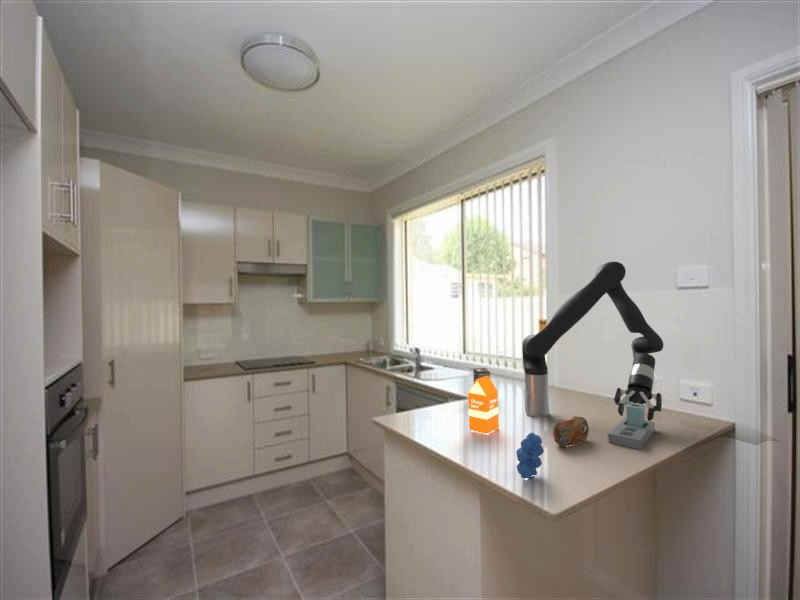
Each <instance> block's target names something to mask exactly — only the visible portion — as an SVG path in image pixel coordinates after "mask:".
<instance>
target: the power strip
mask: <svg viewBox="0 0 800 600" xmlns="http://www.w3.org/2000/svg"><path fill="white" fill-rule="evenodd" d="M655 424H656V423H655V421H652V420H651V421H648V420H646V419H645V428H641V427H635V426H630V425H627V416H625V417H624V418H623V419H622V420H621V421H620V422H619V423H617V425H616V426H614V428H613V429H611V430H610V431H609V432H608V433H607V437H608V439H607V441H608V443H610V444H613V445H617V444H618V446H623V447H627V448H632V449H635V450H641V449H642V448H643V446H644V445H645V444H646V443H647V441H648V440H649V439H650V438H651V436H652V435H653V433H654V432H655V431H656V425H655Z"/></svg>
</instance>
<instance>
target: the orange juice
mask: <svg viewBox="0 0 800 600" xmlns="http://www.w3.org/2000/svg"><path fill="white" fill-rule="evenodd" d="M498 395H499V393H498V389H497V387H496V386H495V384H494V383H493V381H492V380H491V377H490V378H489V376H485V377H482V378H479V379H476V382H475V383H474V382H473V385H472V386H471V388H470V390H469V391H468V393H467V398H468V399H467V400H468V401H467V403H468V422H469V423H468V425H469V429H470V430H474V431H478V432H482V433H489V432H491V431H493V430H496V429H498V428H499V427H500V422H499V397H498ZM499 429H500V428H499ZM470 430H469V431H470Z"/></svg>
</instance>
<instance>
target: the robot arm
mask: <svg viewBox="0 0 800 600" xmlns="http://www.w3.org/2000/svg"><path fill="white" fill-rule="evenodd" d="M625 277H626V268H625V266H624V264H623V263H621V262H619V261H609V262H605V263H604V264H601V265H599V266H598V268H596V270H595V276H594V277H593V278H592V279H591V280H590V281H589V282H588V283H587V284H586V285H584V286H583V287H581V288H580V289H579V290H577V291H576V292H574V293H573V294H572V295H570V297H568V298H567V299H566V300H565V301H564V302H563V303H562V304H561V305H560V306H558V308H557V309H556V310H555V311H554V314H553V315H552V316H551V319H550V320H549V322H548V323H547V324H545V326H544V327H543V328H542V329H541V330H540V331H538V332H537V333H536V334H529V335H527V336H525V338H524V339H523V341H522V346H521V347H522V349H521V350H522V363H523V365H522V366H523V371H524V389H523V392H524V412H525V413H526V416H529V417H537V418H544V417H548V416H550V398H549V396H550V395H549V373H548V365H547V361H546V355H547V354H548V352H549V351H551V349H552V348H553V346H554V345H556V343H557V342H558V340H560V339H561V337H563V336H564V335H565V334H566V333H567V332H568V331H570V330H571V329H572V328H573V327H574V326H575V325H576V324H578V323H579V322H580V321H581V319H583V318H584V317H585V316H586V315H587V314H588V313H589V312H590V311H591V309H592V308H594V306H595V305H596V304H597V303H598V302H599V301H600V299H601V298H602V297H604V295H605V294H607V295H608V297H609V299H611V302H613V306H615V307H616V310H617V311H618V314H620V318H621V319H622V321H623V323H624V325H625V327H626V329H627V330H628V331H629V333H631V334H640V335H642V336H639V337H636V338H634V339H633V340H632V341H631V350H632V356H633V361H632V365H631V369H630V373H629V378H628V383H627V388H626V389H621V388H620V387H618V388H616V392H615V395H614V399H613V401H614V404H615V405H616V406H617V405H618V408H617V412H618V414H619V416H620V417H623V416H624V413H625V407H626V406H627V405H628V404H638V405H645V406H646V407H647V408H648V411H647V416H646V417H647V418H646V419H647V421H652V420H654V416H655V412H661V411H662V405H663V404H662V401H663V397H662V393H660V392H657V393H652V391H653V386H654V380H655V366H656V359H655V357H654V356H653V355H652V354H654V353H659V352H661V351H662V350H663V349H664V341H663V339H662V338H661V336H660V335H659V334H658V333H657V332H656V331H655V330H654V328H652V327H651V326H650V324H648V322H647V321H646V319H645V316H644V314H643V313H642V311H641V310H640V308H639V307H638V305H637V304H636V303H635V301H634V300H633V299H632V298H631V297H630V295H628V294H627V292H626V290H625V289H624V286H623V285H622V281H623V280H624V278H625ZM621 397H623V398H622V399H621ZM652 399H654V401H656V402H655V405H653V404H652V402H651V400H652Z"/></svg>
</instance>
